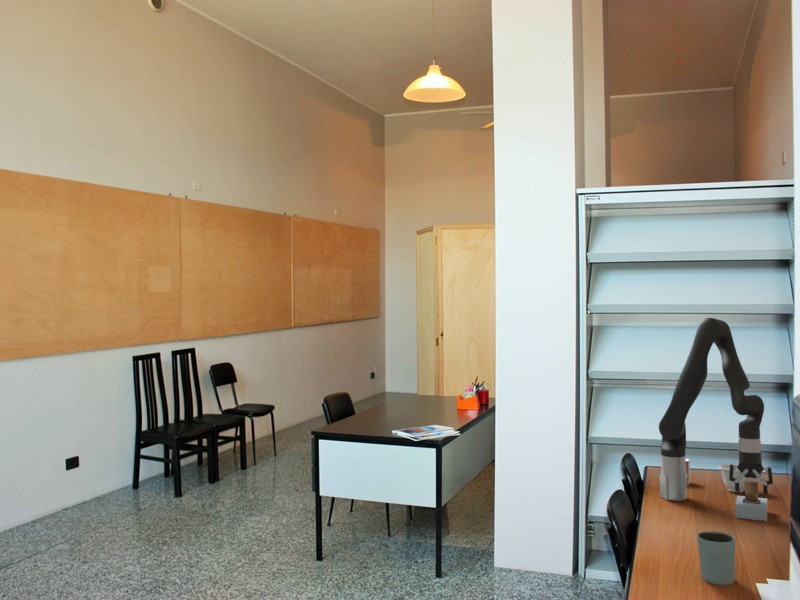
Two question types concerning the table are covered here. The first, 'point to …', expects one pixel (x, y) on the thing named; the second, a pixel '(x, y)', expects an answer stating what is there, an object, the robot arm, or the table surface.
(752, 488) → the walnut peg
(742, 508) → the hole block
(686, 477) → the small box
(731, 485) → the teacup
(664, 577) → the table surface
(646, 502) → the table surface
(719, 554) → the grey-green cup
